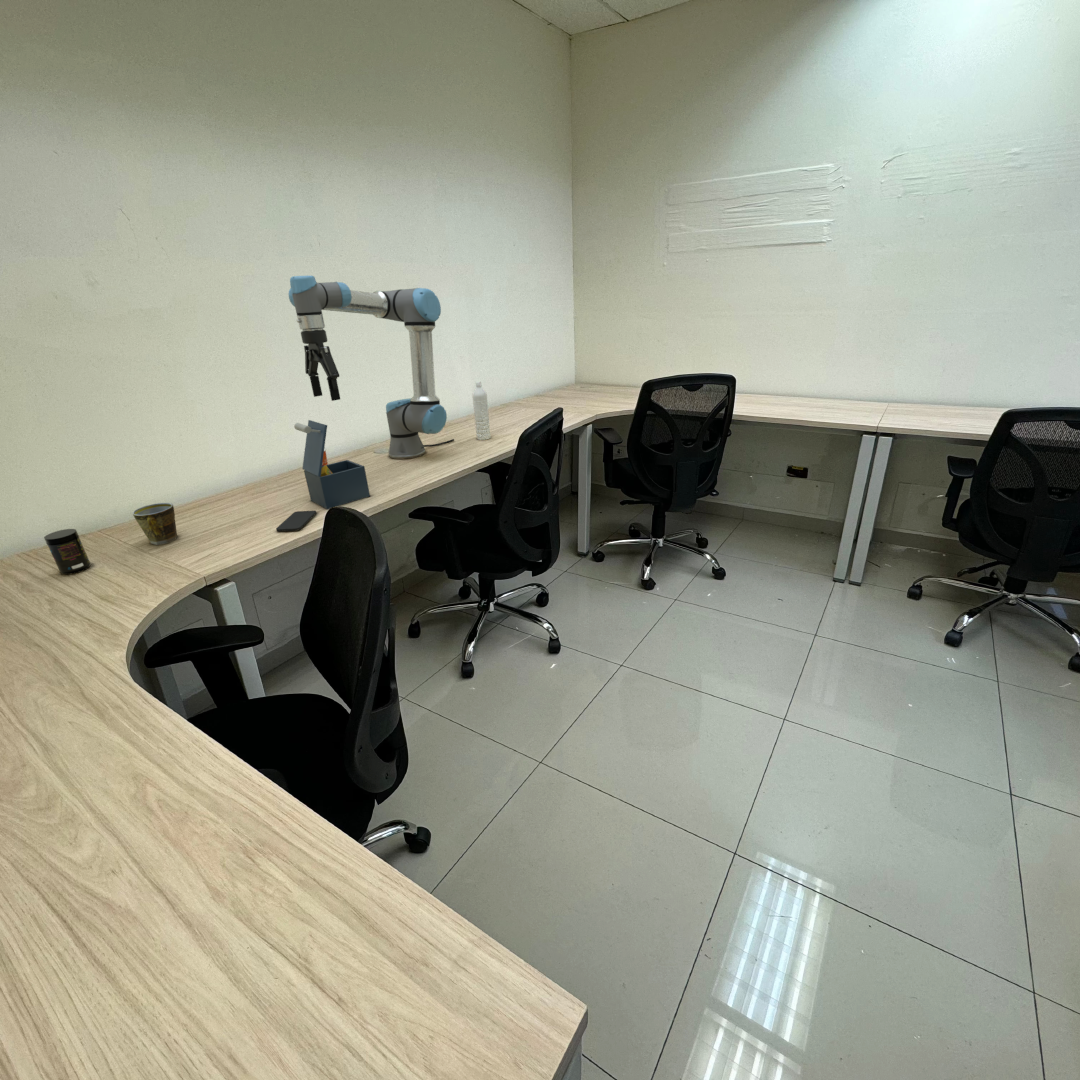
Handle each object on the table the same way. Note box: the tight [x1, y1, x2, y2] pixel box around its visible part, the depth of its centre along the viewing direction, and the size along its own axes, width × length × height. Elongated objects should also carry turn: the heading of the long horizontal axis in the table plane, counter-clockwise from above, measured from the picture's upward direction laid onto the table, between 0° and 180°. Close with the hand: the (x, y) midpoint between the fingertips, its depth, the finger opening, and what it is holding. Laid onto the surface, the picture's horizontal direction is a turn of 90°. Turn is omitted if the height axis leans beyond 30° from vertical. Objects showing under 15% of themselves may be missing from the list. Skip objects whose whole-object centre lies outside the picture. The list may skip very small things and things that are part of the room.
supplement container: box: [43, 528, 91, 575], centre depth 146 cm, size 7×7×10 cm
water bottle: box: [472, 381, 492, 441], centre depth 252 cm, size 9×6×25 cm
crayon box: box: [321, 465, 333, 477], centre depth 186 cm, size 7×3×12 cm, turn 17°
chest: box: [303, 459, 371, 510], centre depth 187 cm, size 16×13×11 cm
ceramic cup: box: [132, 502, 178, 546], centre depth 160 cm, size 13×10×10 cm
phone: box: [275, 510, 317, 532], centre depth 171 cm, size 7×1×15 cm
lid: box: [293, 419, 328, 476], centre depth 177 cm, size 16×13×6 cm
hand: (326, 398), depth 183 cm, fingers open, 13 cm apart
